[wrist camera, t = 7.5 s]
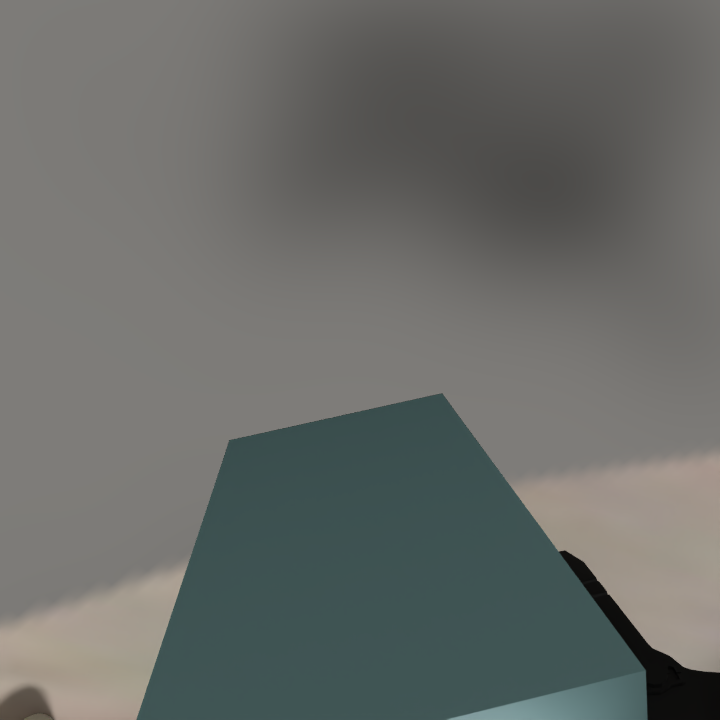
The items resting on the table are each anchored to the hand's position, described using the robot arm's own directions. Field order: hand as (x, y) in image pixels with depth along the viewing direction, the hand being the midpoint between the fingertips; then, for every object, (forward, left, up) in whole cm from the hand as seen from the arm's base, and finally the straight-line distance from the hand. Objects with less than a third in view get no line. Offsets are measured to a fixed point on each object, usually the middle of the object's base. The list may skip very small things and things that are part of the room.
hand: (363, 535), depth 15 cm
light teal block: (0, +1, 0) cm, 1 cm away
